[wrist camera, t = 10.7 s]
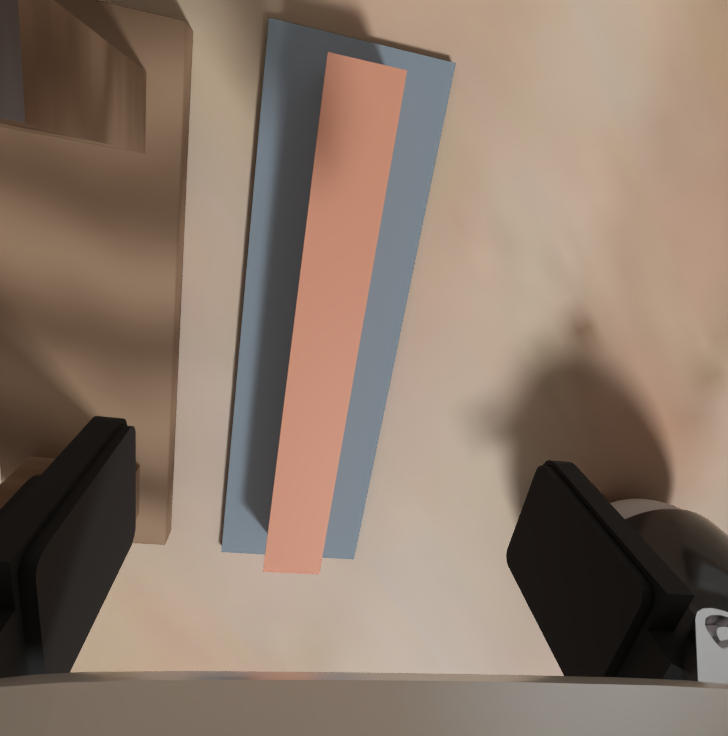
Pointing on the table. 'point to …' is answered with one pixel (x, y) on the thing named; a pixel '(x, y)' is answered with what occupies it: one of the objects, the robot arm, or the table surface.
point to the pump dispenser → (684, 547)
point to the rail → (331, 301)
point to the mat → (283, 263)
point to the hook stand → (92, 235)
